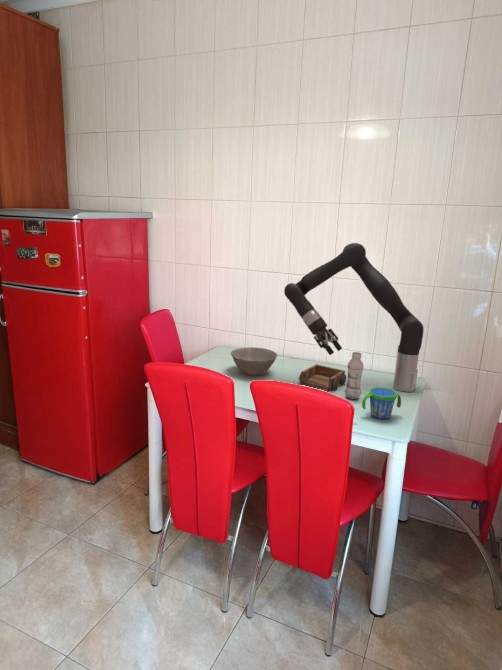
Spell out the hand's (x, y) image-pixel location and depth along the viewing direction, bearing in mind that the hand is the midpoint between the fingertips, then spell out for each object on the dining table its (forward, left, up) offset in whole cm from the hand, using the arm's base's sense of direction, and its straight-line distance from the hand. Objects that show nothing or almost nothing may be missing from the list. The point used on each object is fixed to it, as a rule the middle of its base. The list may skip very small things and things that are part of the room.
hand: (336, 351), depth 200 cm
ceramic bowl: (+42, +1, -19) cm, 46 cm away
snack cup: (-25, +11, -19) cm, 34 cm away
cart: (+9, -5, -19) cm, 21 cm away
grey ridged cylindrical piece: (-9, 0, -19) cm, 21 cm away
